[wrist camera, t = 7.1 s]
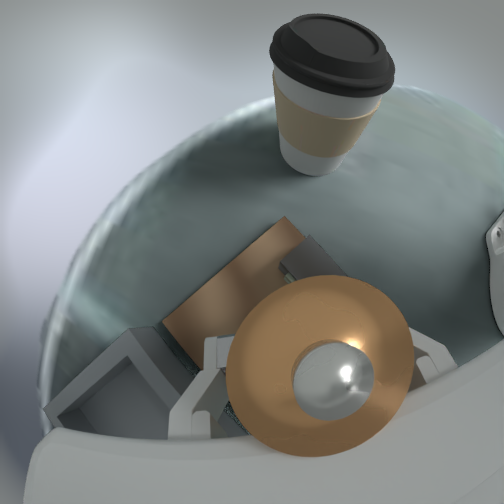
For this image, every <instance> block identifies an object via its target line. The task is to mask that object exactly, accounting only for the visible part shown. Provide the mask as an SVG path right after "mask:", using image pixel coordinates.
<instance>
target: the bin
mask: <svg viewBox="0 0 504 504" xmlns="http://www.w3.org/2000/svg"><path fill="white" fill-rule="evenodd" d="M194 379H195V378H194V377H193V376H192V375H191V373H190V372H189V371H188V370H187V369H186V367H185V366H184V365H183V364H182V363H181V361H180V360H179V359H178V358H177V357H176V355H175V354H174V353H173V352H172V350H171V349H170V348H169V347H168V345H167V344H166V343H165V341H164V340H163V339H162V338H161V336H160V335H159V334H158V332H157V331H156V330H155V328H154V327H142V328H128V329H127V330H126V331H125V332H124V333H123V334H122V335H121V336H120V337H118V338H117V339H116V340H115V341H114V342H113V343H112V344H111V345H110V346H109V347H108V348H107V349H105V350H104V351H103V352H102V353H101V354H100V355H99V356H98V357H97V358H96V359H95V360H94V361H93V362H91V363H90V364H89V365H88V366H87V367H86V368H85V369H84V370H83V371H82V372H81V373H80V374H79V375H78V376H77V377H76V378H74V379H73V380H72V381H71V382H70V383H69V384H68V385H67V386H66V387H65V388H64V389H63V390H62V391H61V392H60V393H59V394H58V395H57V396H56V397H55V398H54V399H53V400H52V401H51V402H50V403H49V404H48V405H46V406H45V407H44V408H43V410H44V412H45V413H46V415H47V417H48V418H49V420H50V421H51V423H52V424H53V426H54V427H55V428H56V427H61V428H66V429H71V430H76V431H81V432H87V433H93V434H100V435H107V436H116V437H126V438H138V439H158V440H168V428H169V415H170V411H171V409H172V408H173V407H174V405H175V404H176V403H177V401H178V400H179V399H180V397H181V396H182V395H183V393H184V392H185V391H186V389H187V388H188V387H189V385H190V384H191V383H192V381H193V380H194ZM217 422H218V423H219V425H220V426H221V427H222V428H223V429H224V430H225V432H226V433H227V437H237V436H246V435H249V434H248V433H247V432H246V431H245V430H243V429H242V428H241V427H240V426H239V425H238V424H237V423H236V422H235V421H234V420H233V419H232V418H231V417H230V416H229V415H228V414H227V413H226V412H225V411H224V410H223V412H222V414H221V415H220V417H219V419H218V421H217Z"/></svg>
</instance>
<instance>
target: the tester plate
mask: <svg viewBox="0 0 504 504" xmlns="http://www.w3.org/2000/svg"><path fill="white" fill-rule="evenodd" d="M320 275H338V276H346V277H348V276H347V275H346V274H345V273H344V272H343V270H342V269H341V268H340V267H339V266H338V265H337V264H336V263H335V262H334V261H333V259H332V258H331V257H330V256H329V255H328V254H327V253H326V252H325V251H324V250H323V249H322V247H321V246H320V245H319V244H318V243H317V242H316V241H315V240H314V239H313V238H312V237H311V236H310V235H309V236H308V237H307V238H305V237H304V236H303V235H302V234H301V233H300V232H299V231H298V230H297V228H296V227H295V226H294V225H293V224H292V223H291V222H290V221H289V220H288V219H287V218H286V217H285V216H284V217H283V218H282V219H280V220H279V221H278V222H277V223H276V224H274V225H273V226H272V227H271V228H270V229H269V230H267V231H266V232H265V233H264V234H263V235H262V236H260V237H259V238H258V239H257V240H256V241H255V242H253V243H252V244H251V245H250V246H249V247H248V248H246V249H245V250H244V251H243V252H242V253H241V254H239V255H238V256H237V257H236V258H235V259H234V260H232V261H231V262H230V263H229V264H228V265H227V266H225V267H224V268H223V269H222V270H221V271H220V272H218V273H217V274H216V275H215V276H214V277H213V278H211V279H210V280H209V281H208V282H207V283H206V284H204V285H203V286H202V287H201V288H200V289H199V290H198V291H196V292H195V293H194V294H193V295H192V296H191V297H189V298H188V299H187V300H186V301H185V302H184V303H183V304H181V305H180V306H179V307H178V308H177V309H176V310H174V311H173V312H172V313H171V314H170V315H169V316H168V317H166V318H165V319H164V320H163V321H162V322H163V324H164V325H165V326H166V328H167V329H168V330H169V331H170V333H171V334H172V335H173V337H174V338H175V339H176V340H177V342H178V343H179V344H180V345H181V347H182V348H183V349H184V350H185V352H186V353H187V354H188V355H189V356H190V358H191V359H192V360H193V361H194V362H195V363H196V365H197V366H198V367H199V368H200V369H201V370H202V371H203V369H204V341H205V338H208V337H215V336H221V335H228V334H235V333H236V332H237V330H238V329H239V327H240V325H241V324H242V322H243V321H244V319H245V318H246V317H247V315H248V314H249V313H250V312H251V311H252V310H253V309H254V308H255V307H256V306H257V305H258V304H259V303H260V302H261V301H262V300H263V299H265V298H266V297H267V296H268V295H270V294H271V293H273V292H274V291H276V290H278V289H279V288H281V287H283V286H285V285H287V284H290V283H292V282H294V281H297V280H301V279H304V278H308V277H314V276H320ZM229 401H230V400H229Z"/></svg>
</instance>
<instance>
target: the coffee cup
mask: <svg viewBox="0 0 504 504" xmlns="http://www.w3.org/2000/svg"><path fill="white" fill-rule="evenodd" d="M269 51H270V57H271V59H272V61H273V63H274V70H273V85H274V95H275V105H276V115H277V125H278V128H279V138H280V150H281V154H282V156H283V158H284V159H285V161H286V162H287V163H288V164H289V165H290V166H291V167H292V168H293V169H295V170H297V171H298V172H300V173H303V174H306V175H310V176H323V175H327V174H330V173H332V172H333V171H335V170H336V169H337V168H338V167H339V165H340V164H341V162H342V161H343V159H344V157H345V156H346V154H347V153H348V151H349V150H350V149H351V148H352V147H353V146H354V144H355V143H356V141H357V140H358V138H359V137H360V135H361V133H362V132H363V130H364V129H365V127H366V126H367V124H368V122H369V121H370V119H371V118H372V116H373V114H374V113H375V111H376V110H377V108H378V106H379V104H380V102H381V97H382V96H383V94H384V93H385V92H387V91H388V90H389V89H390V88H391V87H392V85H393V83H394V73H395V65H394V62H393V60H392V58H391V56H390V55H389V53H388V52H387V50H386V47H385V45H384V43H383V42H382V40H381V39H380V38H379V37H378V36H377V35H376V34H375V33H373V32H372V31H371V30H369V29H368V28H366V27H364V26H362V25H360V24H359V23H356V22H354V21H352V20H349V19H346V18H342V17H339V16H334V15H329V14H307V15H302V16H299V17H296V18H295V19H294V20H292V21H291V22H289V23H287V24H284V25H283V26H281V27H280V28H279V29H278V30H277V31H276V32H275V34H274V36H273V42H272V43H271V45H270V50H269Z"/></svg>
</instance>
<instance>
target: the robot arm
mask: <svg viewBox="0 0 504 504" xmlns="http://www.w3.org/2000/svg"><path fill="white" fill-rule="evenodd" d="M486 242H487V247H488V251H489V256H490V293H491V302H492V308H493V312H494V316H495V320H496V322H497V325H498V327H499V329H500V331H501V332H502V334H503V335H504V212H503V213H502V214H501V216H500V217H499V218H498V219H497V221H496V222H495V223H494V224H493V226H492V227H491V228H490V229H489V230H488V232H487V234H486ZM409 330H410V333H411V336H412V341H413V346H414V369H413V375H412V380H411V383H410V386H409V389H408V392H407V394H406V397H405V399H404V401H403V403H402V404H401V406H400V408H399V409H398V411H397V412H396V414H395V415H394V416H393V418H392V419H391V420H390V421H389V422H388V424H387V425H386V426H385V427H384V428H383V429H382V430H380V431H379V432H378V433H377V434H376V435H374V436H373V437H372V438H370V439H369V440H367V441H366V442H364V443H362V444H361V445H359V446H357V447H354V448H352V449H350V450H347V451H345V452H341V453H338V454H334V455H330V456H323V457H300V456H293V455H289V454H285V453H282V452H279V451H277V450H274V449H272V448H270V447H268V446H266V445H265V444H263V443H261V442H260V441H259V440H257V439H256V438H255V437H254V436H252V435H246V436H237V437H227V433H226V432H225V430H224V429H223V428H222V427H221V426H220V425H219V423H218V422H217V421H218V419H219V417H220V415H221V414H222V412H223V410H224V408H225V406H226V404H227V402H228V401H229V397H228V393H227V386H226V364H227V357H228V353H229V350H230V346H231V343H232V341H233V339H234V336H235V334H236V333H235V334H228V335H221V336H215V337H208V338H205V341H204V369H203V371H200V372H199V373H198V374H197V376H196V377H195V379H194V380H193V381H192V383H191V384H190V385H189V387H188V388H187V389H186V391H185V392H184V393H183V395H182V396H181V397H180V399H179V400H178V401H177V403H176V404H175V405H174V407H173V408H172V409H171V411H170V415H169V428H168V440H158V439H138V438H126V437H116V436H107V435H100V434H93V433H87V432H81V431H76V430H71V429H66V428H61V427H56V428H54V429H53V430H51V431H50V432H49V433H48V434H47V435H46V436H45V437H44V438H43V439H42V440H41V441H40V442H39V443H38V444H37V446H36V447H35V449H34V452H33V454H32V457H31V461H30V465H29V470H28V474H27V479H26V485H25V492H24V500H23V504H504V339H503V340H501V341H500V342H498V343H497V344H496V345H494V346H493V347H491V348H490V349H488V350H487V351H485V352H483V353H482V354H480V355H479V356H477V357H475V358H474V359H472V360H470V361H469V362H467V363H465V364H464V365H462V366H460V367H458V366H457V365H456V363H455V361H454V360H453V358H452V356H451V355H450V353H449V351H448V350H447V348H446V347H445V345H443V344H441V343H439V342H437V341H435V340H433V339H431V338H429V337H427V336H425V335H423V334H421V333H420V332H418V331H416V330H414V329H412V328H410V327H409Z"/></svg>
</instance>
